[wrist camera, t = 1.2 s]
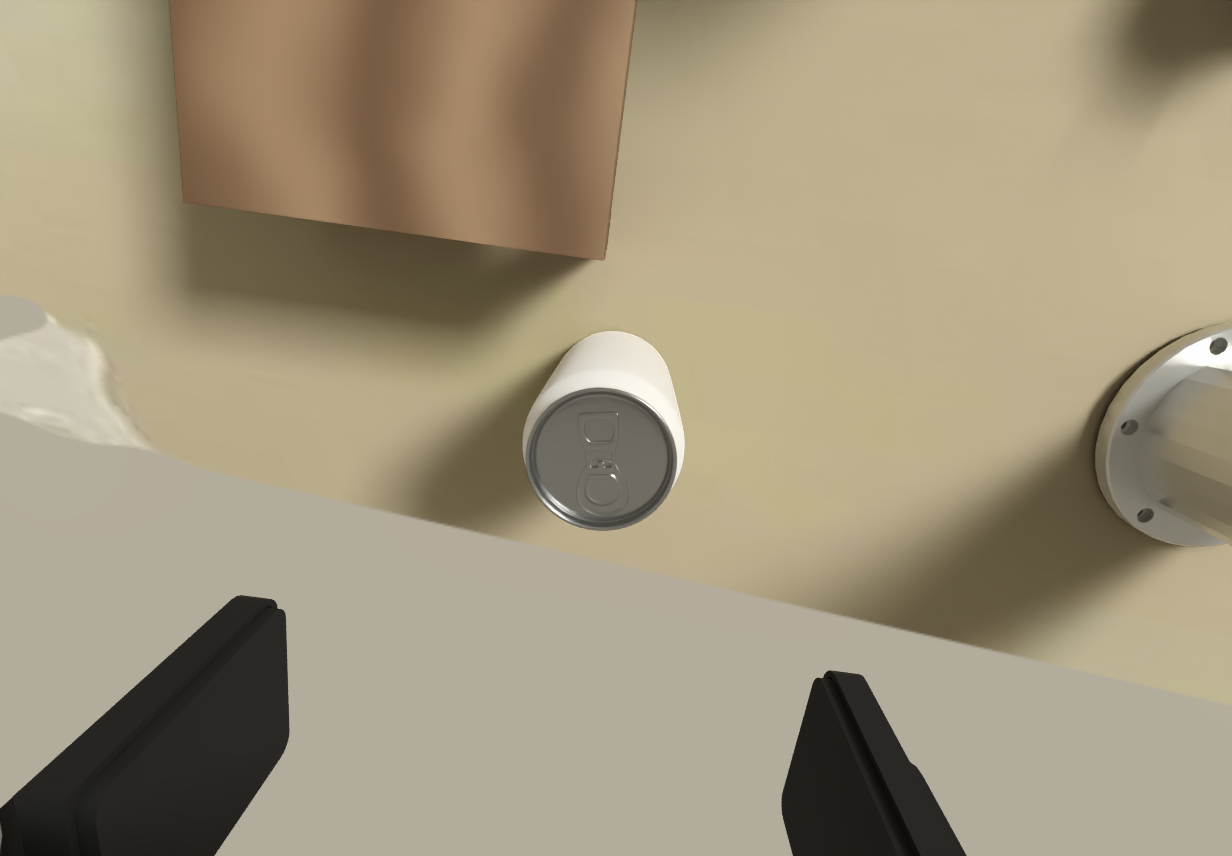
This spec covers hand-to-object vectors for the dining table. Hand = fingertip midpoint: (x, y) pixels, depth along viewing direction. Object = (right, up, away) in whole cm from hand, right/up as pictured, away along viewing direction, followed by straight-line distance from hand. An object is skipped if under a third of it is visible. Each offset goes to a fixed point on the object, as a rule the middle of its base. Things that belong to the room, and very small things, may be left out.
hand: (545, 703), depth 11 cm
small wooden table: (-6, +23, +19) cm, 30 cm away
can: (+1, +7, +23) cm, 24 cm away
